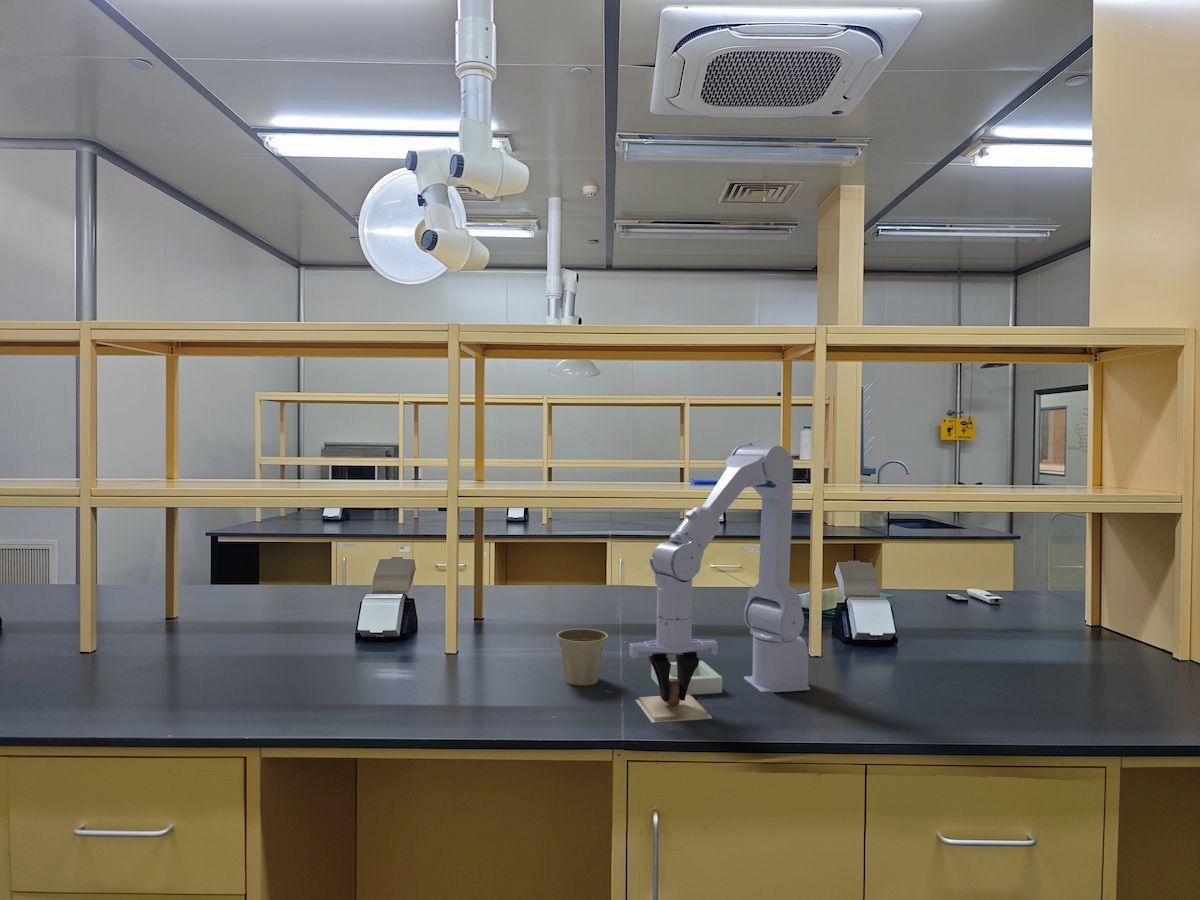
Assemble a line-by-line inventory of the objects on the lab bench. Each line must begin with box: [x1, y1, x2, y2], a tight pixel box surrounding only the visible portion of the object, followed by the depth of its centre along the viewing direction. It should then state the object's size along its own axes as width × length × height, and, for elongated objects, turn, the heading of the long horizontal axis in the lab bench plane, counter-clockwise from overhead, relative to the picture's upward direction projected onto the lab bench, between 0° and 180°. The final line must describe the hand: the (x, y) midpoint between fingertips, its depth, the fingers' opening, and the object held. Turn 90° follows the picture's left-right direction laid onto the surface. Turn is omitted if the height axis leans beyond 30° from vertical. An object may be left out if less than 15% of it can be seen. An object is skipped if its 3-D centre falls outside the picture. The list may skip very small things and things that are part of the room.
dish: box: [650, 660, 723, 696], centre depth 128 cm, size 10×10×3 cm
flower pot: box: [556, 628, 609, 686], centre depth 130 cm, size 9×9×9 cm
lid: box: [638, 679, 710, 721], centre depth 116 cm, size 9×9×5 cm
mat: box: [635, 699, 713, 724], centre depth 116 cm, size 10×10×1 cm
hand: (672, 699), depth 116 cm, fingers closed on lid, 2 cm apart
